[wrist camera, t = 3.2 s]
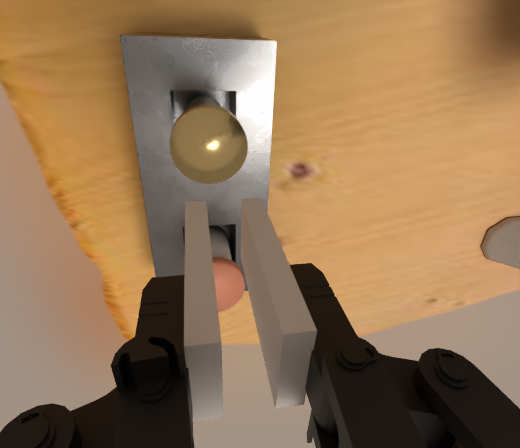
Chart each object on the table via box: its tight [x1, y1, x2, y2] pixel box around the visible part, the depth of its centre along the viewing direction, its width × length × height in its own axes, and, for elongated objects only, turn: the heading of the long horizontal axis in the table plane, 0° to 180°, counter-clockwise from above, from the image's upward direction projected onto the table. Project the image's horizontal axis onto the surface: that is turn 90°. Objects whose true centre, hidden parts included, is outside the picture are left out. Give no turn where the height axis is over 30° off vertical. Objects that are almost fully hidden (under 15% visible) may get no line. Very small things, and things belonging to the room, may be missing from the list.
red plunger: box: [209, 225, 245, 312], centre depth 31 cm, size 5×5×8 cm
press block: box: [120, 33, 277, 291], centre depth 33 cm, size 24×11×6 cm, turn 178°
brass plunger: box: [169, 97, 248, 184], centre depth 25 cm, size 5×5×8 cm
